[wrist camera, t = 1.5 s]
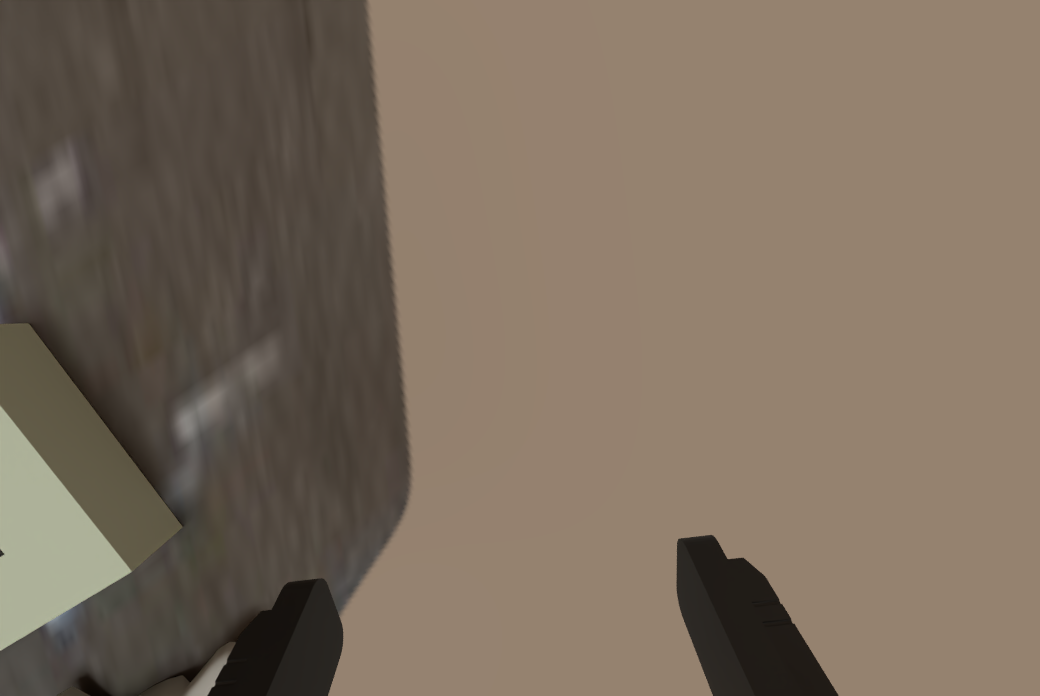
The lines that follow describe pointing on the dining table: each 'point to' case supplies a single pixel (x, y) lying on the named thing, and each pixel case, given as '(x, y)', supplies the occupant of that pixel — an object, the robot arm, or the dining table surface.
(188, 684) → the bunny figurine
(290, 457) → the dining table surface
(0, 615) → the socket block
